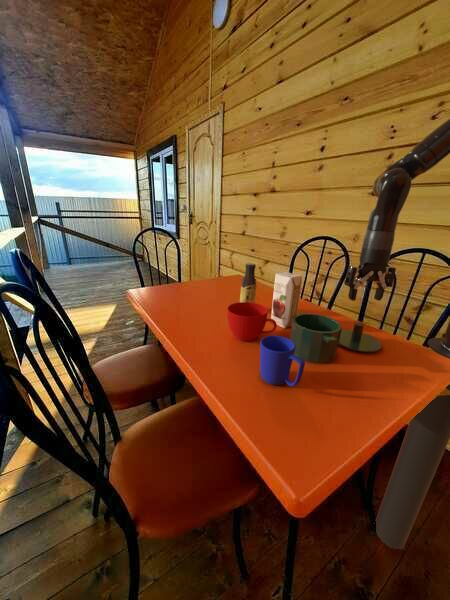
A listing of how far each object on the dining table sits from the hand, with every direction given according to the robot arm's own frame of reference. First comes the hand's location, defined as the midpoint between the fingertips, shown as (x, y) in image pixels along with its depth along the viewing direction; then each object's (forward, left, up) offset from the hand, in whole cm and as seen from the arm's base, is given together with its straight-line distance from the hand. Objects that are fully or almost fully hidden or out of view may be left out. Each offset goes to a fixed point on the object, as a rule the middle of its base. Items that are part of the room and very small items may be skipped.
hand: (364, 299), depth 78 cm
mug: (+32, +18, -15) cm, 40 cm away
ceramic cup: (+34, -5, -15) cm, 38 cm away
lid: (0, 0, -14) cm, 14 cm away
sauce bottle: (+30, -30, -15) cm, 45 cm away
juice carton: (+19, -16, -15) cm, 29 cm away
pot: (+17, +4, -15) cm, 23 cm away
